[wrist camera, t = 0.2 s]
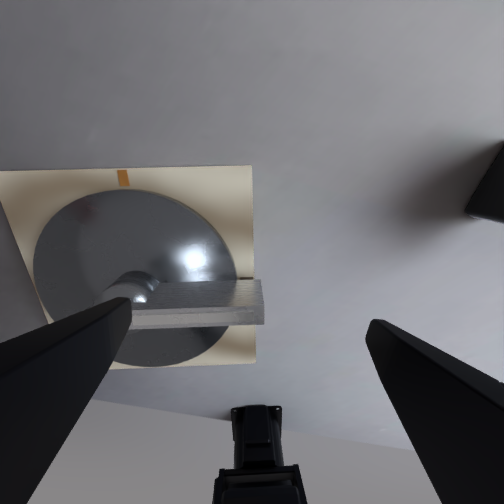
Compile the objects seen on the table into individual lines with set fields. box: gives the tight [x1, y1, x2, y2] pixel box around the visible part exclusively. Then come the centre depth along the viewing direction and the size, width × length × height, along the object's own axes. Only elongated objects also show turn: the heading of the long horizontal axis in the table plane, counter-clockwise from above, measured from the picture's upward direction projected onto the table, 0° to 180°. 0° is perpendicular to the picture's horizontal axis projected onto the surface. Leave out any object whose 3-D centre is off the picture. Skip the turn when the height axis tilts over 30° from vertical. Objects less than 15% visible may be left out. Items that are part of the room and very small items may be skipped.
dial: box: [33, 189, 264, 367], centre depth 19 cm, size 19×17×5 cm
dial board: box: [0, 165, 256, 369], centre depth 22 cm, size 20×20×2 cm
